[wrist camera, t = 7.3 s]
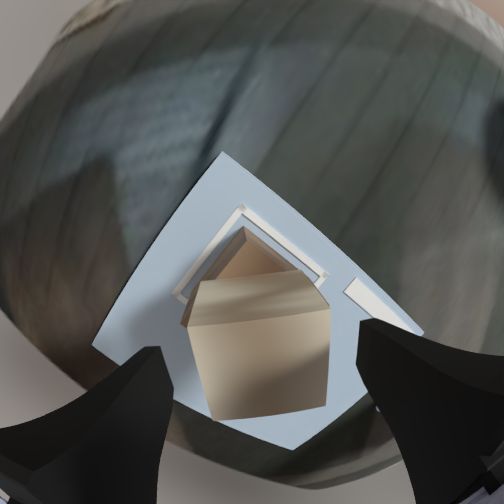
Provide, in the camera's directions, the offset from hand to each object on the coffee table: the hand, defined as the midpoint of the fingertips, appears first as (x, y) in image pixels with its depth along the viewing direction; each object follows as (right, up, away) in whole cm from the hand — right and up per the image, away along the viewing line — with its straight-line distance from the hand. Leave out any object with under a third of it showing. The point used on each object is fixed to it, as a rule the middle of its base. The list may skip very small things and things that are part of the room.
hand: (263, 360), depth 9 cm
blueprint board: (+1, -3, +9) cm, 9 cm away
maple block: (0, +1, +3) cm, 3 cm away
